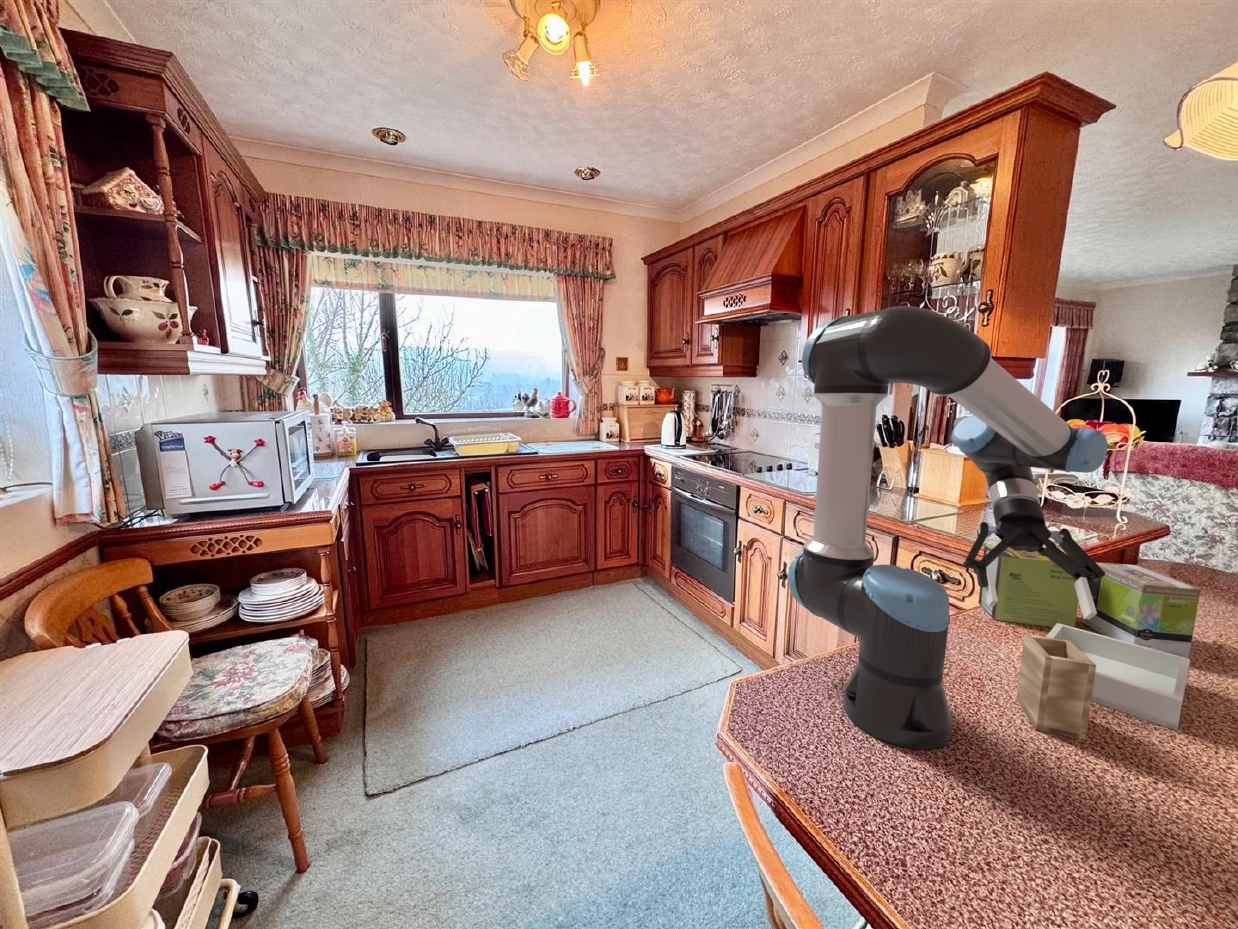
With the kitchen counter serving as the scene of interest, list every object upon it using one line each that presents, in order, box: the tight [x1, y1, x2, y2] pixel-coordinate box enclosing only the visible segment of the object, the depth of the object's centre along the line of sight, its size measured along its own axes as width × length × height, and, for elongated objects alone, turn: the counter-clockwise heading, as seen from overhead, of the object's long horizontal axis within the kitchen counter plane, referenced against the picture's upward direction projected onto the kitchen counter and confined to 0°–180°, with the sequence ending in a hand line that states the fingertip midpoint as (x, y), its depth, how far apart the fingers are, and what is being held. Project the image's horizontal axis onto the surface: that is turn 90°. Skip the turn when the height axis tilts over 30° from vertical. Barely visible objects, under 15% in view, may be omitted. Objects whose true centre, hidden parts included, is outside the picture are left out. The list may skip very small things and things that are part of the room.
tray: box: [1045, 623, 1191, 732], centre depth 88 cm, size 18×20×5 cm
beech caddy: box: [1015, 633, 1096, 741], centre depth 77 cm, size 6×8×12 cm
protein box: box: [978, 544, 1079, 628], centre depth 115 cm, size 10×15×16 cm
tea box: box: [1080, 561, 1201, 659], centre depth 104 cm, size 15×10×15 cm
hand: (1040, 610), depth 85 cm, fingers open, 13 cm apart
